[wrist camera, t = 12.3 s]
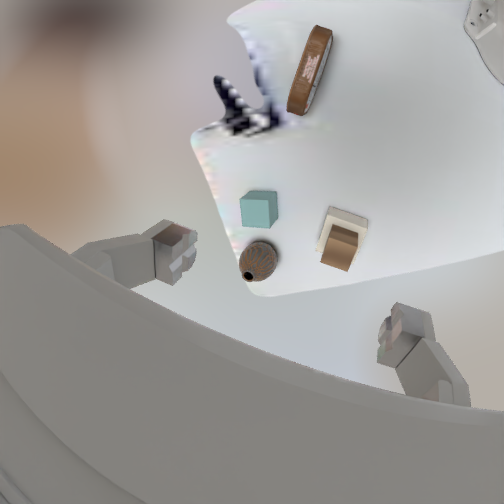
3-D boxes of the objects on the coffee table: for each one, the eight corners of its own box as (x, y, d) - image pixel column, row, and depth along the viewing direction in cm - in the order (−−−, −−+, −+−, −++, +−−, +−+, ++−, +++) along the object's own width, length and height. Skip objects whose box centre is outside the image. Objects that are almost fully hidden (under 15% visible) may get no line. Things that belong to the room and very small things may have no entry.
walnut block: (332, 223, 43) (329, 237, 39) (358, 233, 42) (357, 247, 38) (324, 247, 45) (320, 262, 41) (349, 255, 44) (347, 271, 40)
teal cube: (250, 190, 50) (239, 199, 46) (276, 191, 48) (268, 200, 44) (252, 215, 52) (242, 226, 48) (277, 217, 51) (269, 228, 47)
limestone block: (329, 206, 46) (327, 214, 43) (367, 219, 44) (367, 228, 41) (318, 240, 50) (315, 250, 46) (354, 252, 48) (353, 264, 45)
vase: (258, 271, 58) (243, 296, 51) (241, 243, 56) (223, 266, 49) (287, 261, 54) (274, 287, 47) (269, 231, 53) (253, 253, 45)
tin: (319, 32, 32) (310, 16, 25) (338, 38, 31) (334, 23, 24) (292, 111, 40) (278, 111, 33) (310, 117, 40) (300, 119, 33)
